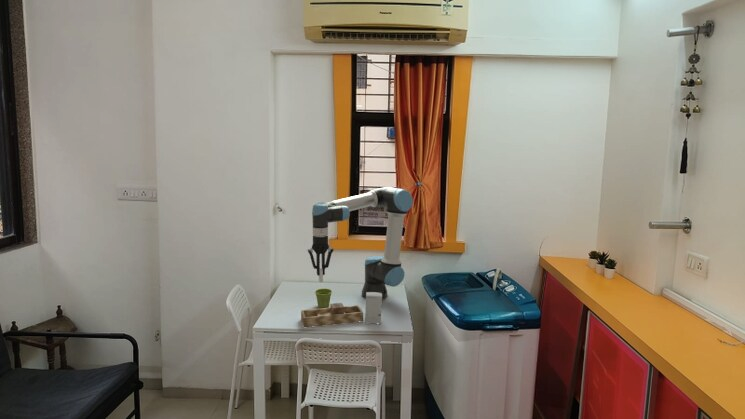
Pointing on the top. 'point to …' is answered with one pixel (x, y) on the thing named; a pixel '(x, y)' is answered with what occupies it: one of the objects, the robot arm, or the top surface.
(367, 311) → the skincare box
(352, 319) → the wooden cubby shelf
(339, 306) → the walnut block
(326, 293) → the plant pot
